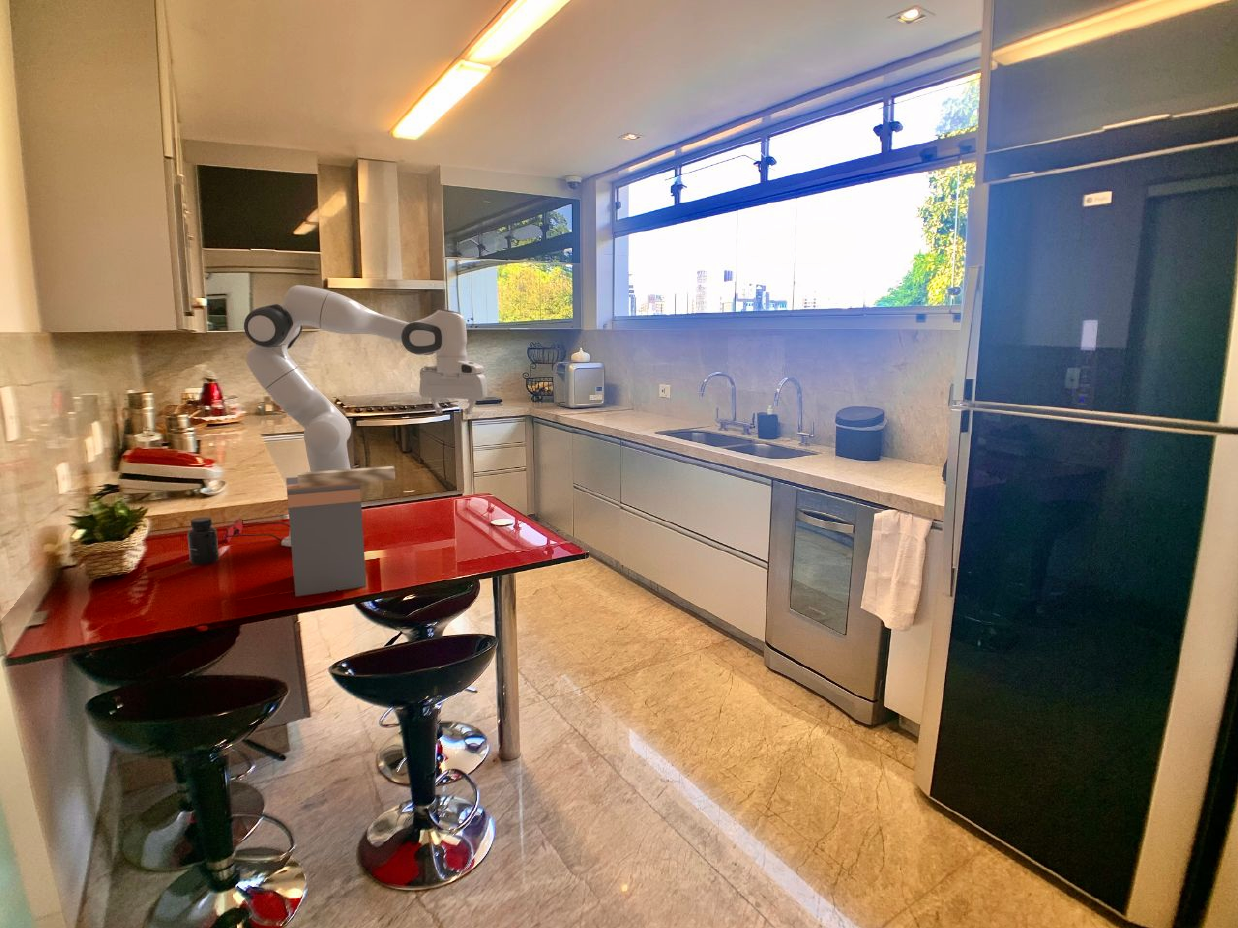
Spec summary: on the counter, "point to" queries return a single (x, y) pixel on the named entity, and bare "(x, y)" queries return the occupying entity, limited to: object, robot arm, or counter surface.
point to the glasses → (239, 527)
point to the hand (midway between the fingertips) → (453, 413)
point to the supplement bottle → (202, 542)
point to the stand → (326, 537)
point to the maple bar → (345, 476)
